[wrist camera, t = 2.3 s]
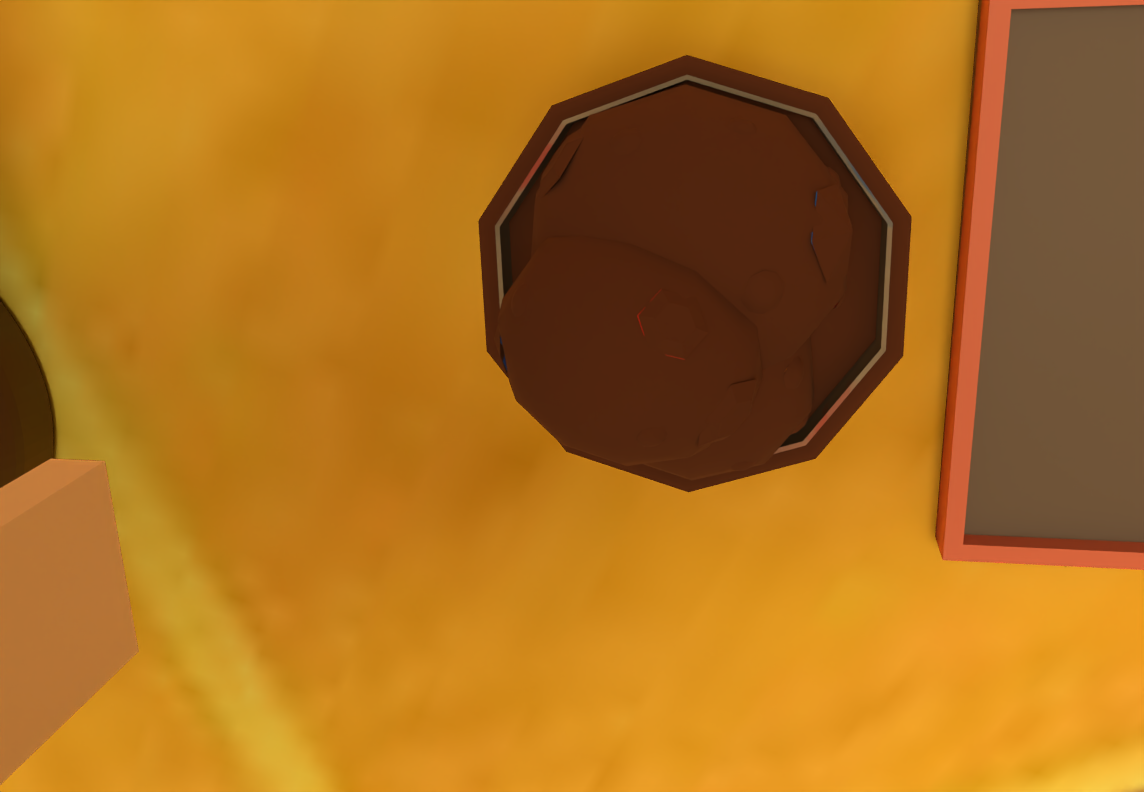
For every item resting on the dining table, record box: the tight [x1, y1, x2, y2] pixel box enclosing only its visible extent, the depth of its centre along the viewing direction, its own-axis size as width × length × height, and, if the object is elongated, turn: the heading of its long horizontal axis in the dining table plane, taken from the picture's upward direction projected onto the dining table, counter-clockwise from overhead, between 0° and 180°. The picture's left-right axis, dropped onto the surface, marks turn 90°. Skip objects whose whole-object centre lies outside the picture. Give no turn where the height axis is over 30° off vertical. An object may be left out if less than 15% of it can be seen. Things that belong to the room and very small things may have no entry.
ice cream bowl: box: [479, 55, 911, 492], centre depth 29 cm, size 11×11×15 cm
